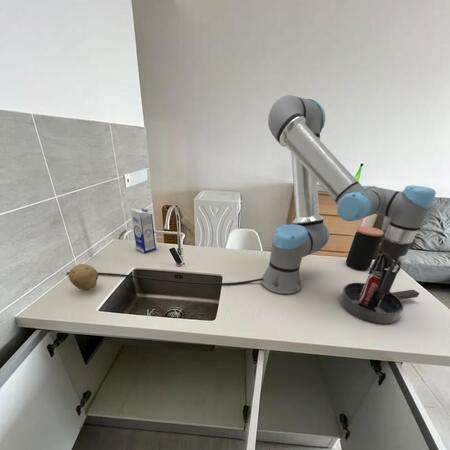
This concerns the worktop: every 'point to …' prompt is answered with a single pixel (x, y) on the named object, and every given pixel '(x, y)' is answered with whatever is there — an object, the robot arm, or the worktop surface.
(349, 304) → the pan
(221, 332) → the worktop surface
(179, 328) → the worktop surface
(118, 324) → the worktop surface
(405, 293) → the pan handle
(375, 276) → the soda can
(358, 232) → the coffee jar
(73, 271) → the potato
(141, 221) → the milk carton
